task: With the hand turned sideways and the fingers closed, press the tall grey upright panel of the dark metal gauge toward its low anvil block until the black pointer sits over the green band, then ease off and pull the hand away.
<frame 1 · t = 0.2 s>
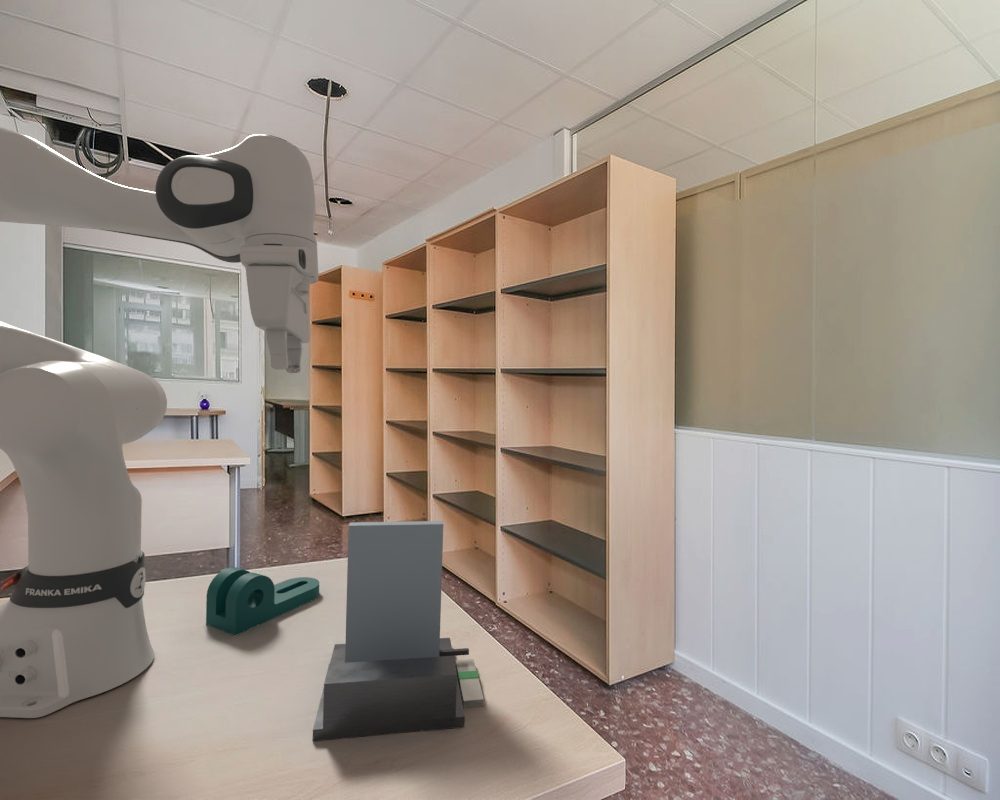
hand: (287, 371, 68), 39 cm above the table, tool pointing down, fingers open, 8 cm apart
bracket: (271, 610, 85), on the table
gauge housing: (392, 685, 65), on the table
grey upright panel: (410, 590, 68), point 11 cm above the table, slide at 0.0 cm
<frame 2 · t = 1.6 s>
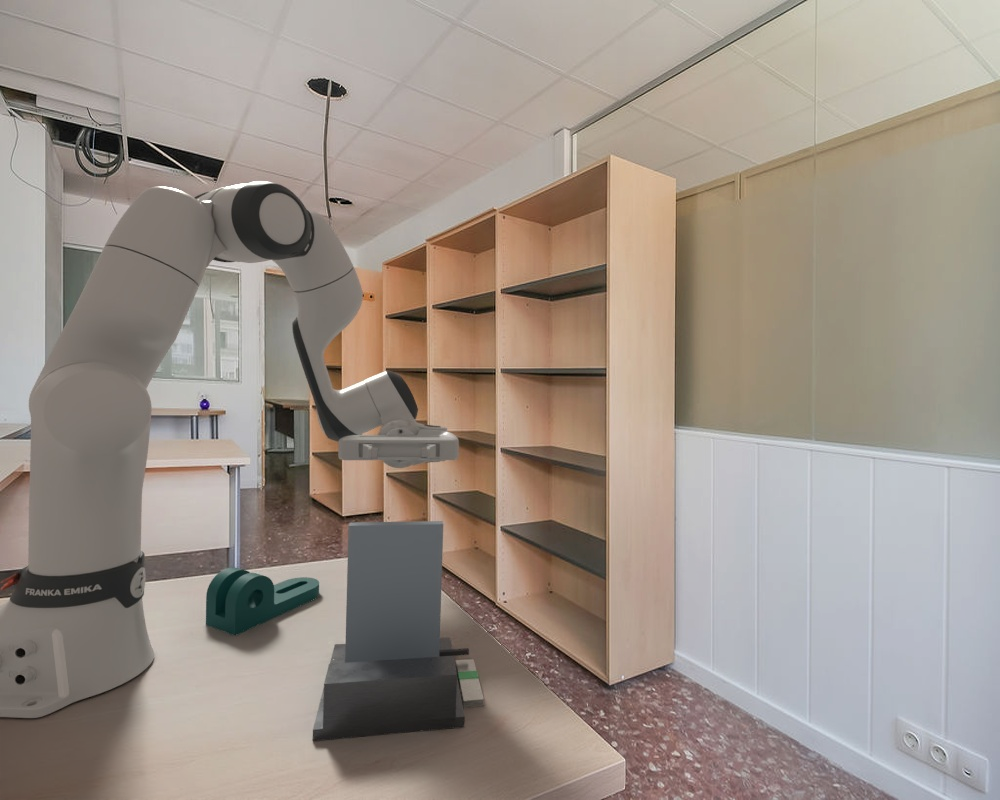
hand: (399, 454, 82), 26 cm above the table, tool horizontal, fingers open, 7 cm apart
nothing on the table moved.
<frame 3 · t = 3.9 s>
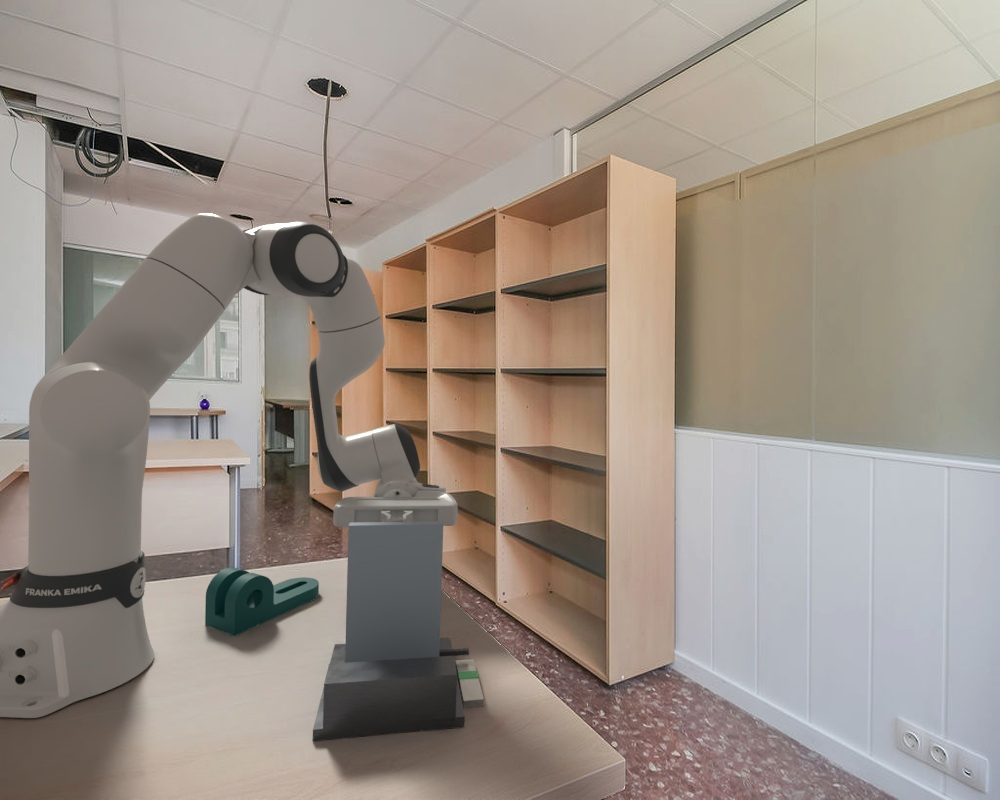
hand: (396, 524, 80), 16 cm above the table, tool horizontal, fingers closed
nothing on the table moved.
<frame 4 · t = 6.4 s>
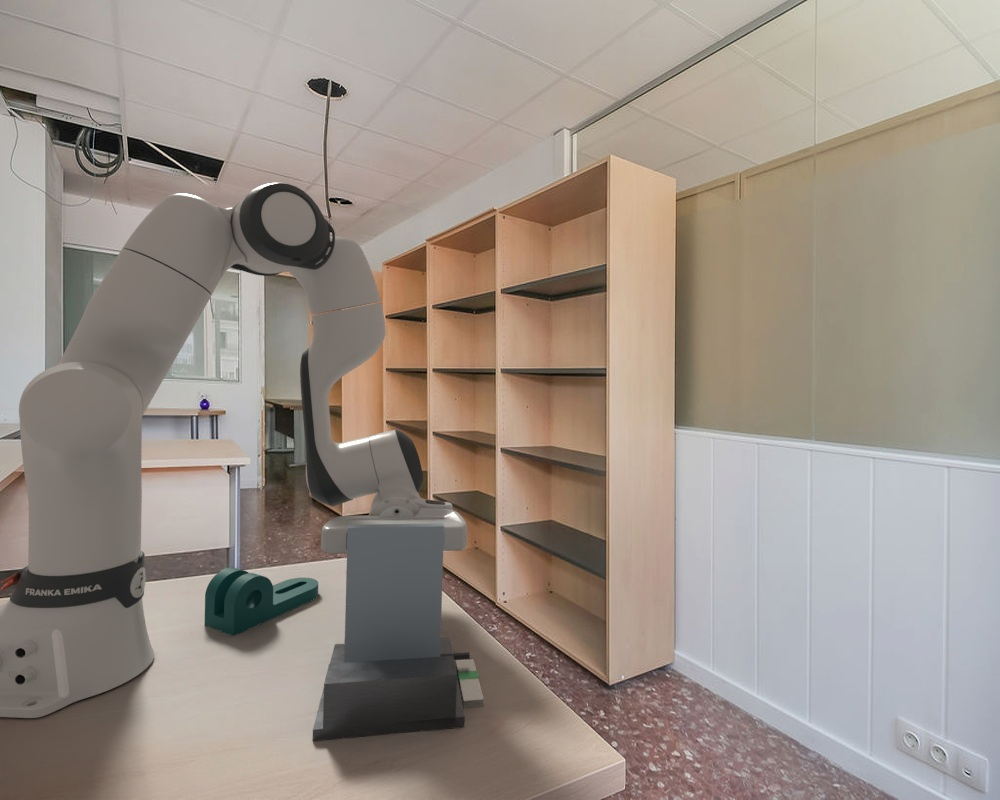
hand: (395, 551, 67), 16 cm above the table, tool horizontal, fingers closed, pressing on grey upright panel
grey upright panel: (410, 594, 67), point 10 cm above the table, slide at 1.1 cm, touching gripper
everything else where it was.
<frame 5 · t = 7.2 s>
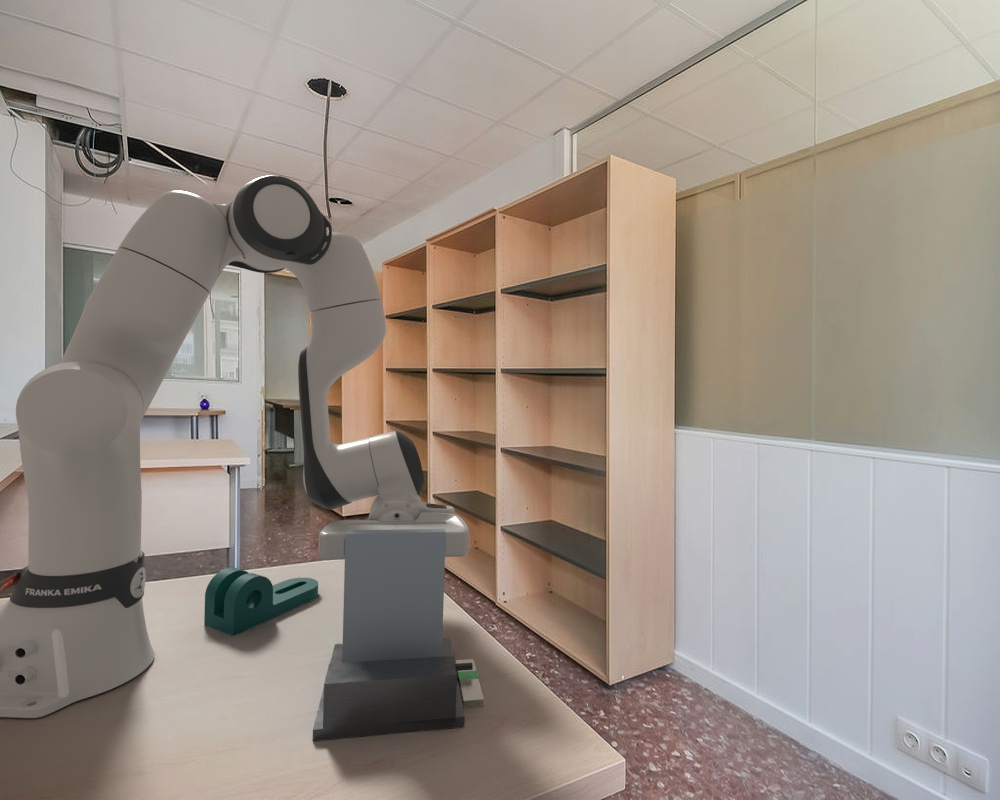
hand: (395, 557, 65), 16 cm above the table, tool horizontal, fingers closed, pressing on grey upright panel
grey upright panel: (410, 602, 64), point 11 cm above the table, slide at 3.7 cm, touching gripper
everything else where it was.
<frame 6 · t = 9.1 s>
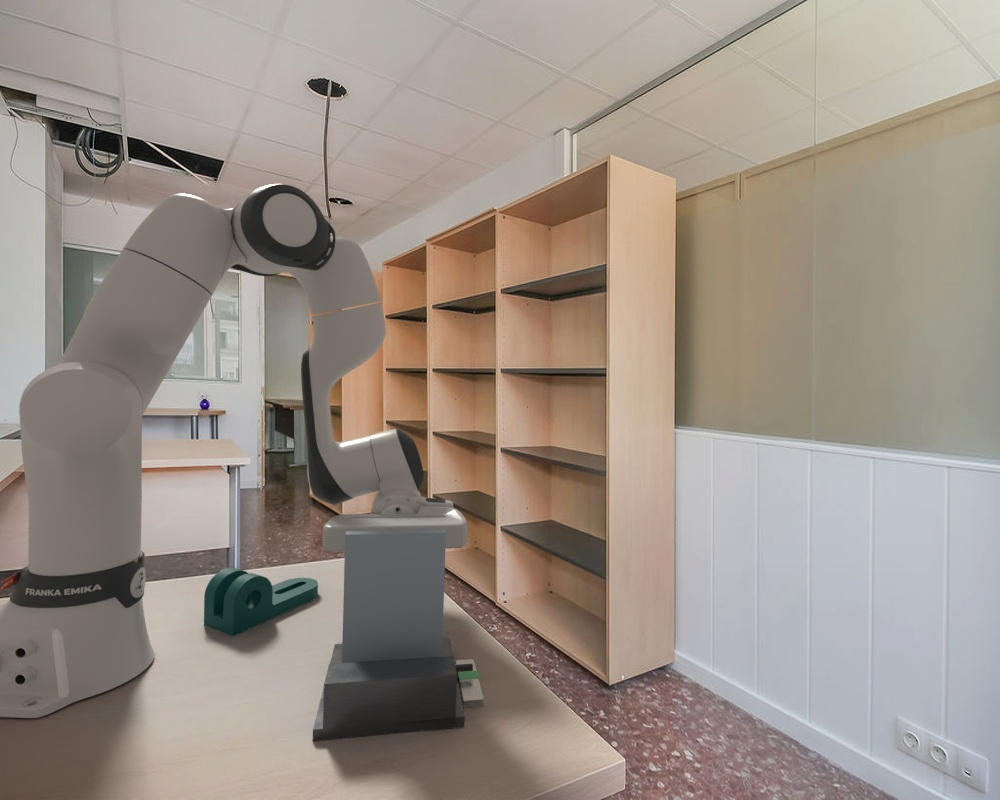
hand: (396, 548, 68), 16 cm above the table, tool horizontal, fingers closed
grey upright panel: (410, 603, 64), point 11 cm above the table, slide at 3.9 cm
everything else where it was.
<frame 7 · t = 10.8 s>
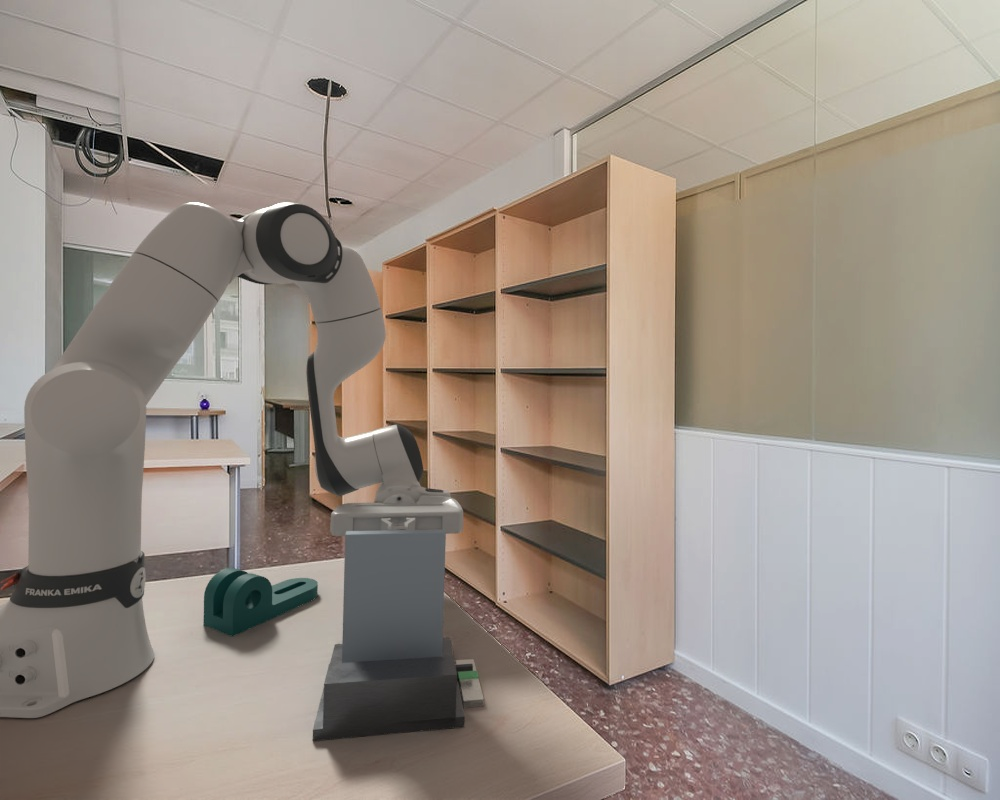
hand: (397, 533, 74), 16 cm above the table, tool horizontal, fingers closed
nothing on the table moved.
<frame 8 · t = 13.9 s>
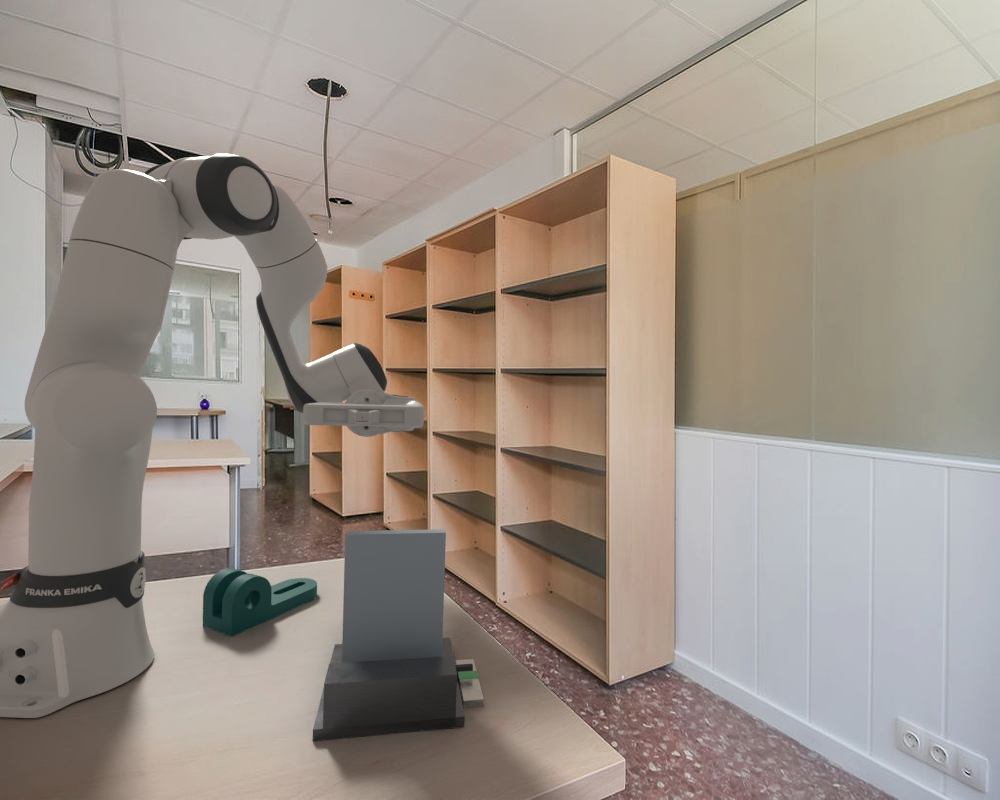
hand: (362, 417, 83), 32 cm above the table, tool horizontal, fingers closed
nothing on the table moved.
at the end: grey upright panel slide at 3.9 cm; bracket moved 0.7 cm from its start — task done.
